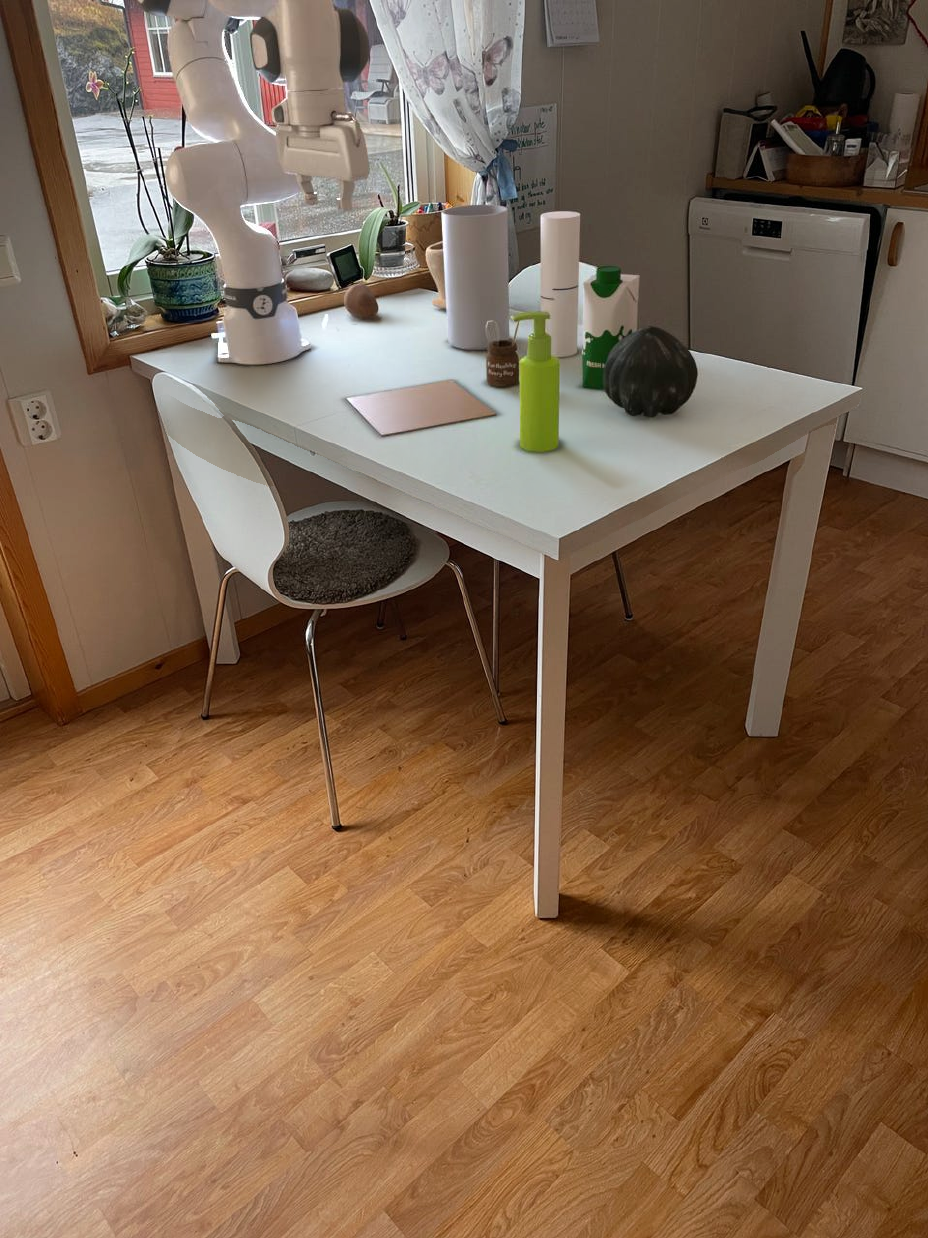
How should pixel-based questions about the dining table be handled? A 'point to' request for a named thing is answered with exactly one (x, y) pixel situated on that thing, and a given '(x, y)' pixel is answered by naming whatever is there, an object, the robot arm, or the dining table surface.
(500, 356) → the utensil holder
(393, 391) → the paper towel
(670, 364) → the squash
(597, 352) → the milk carton
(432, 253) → the stone cup
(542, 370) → the soap dispenser
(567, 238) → the cylindrical container
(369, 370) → the dining table surface
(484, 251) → the cylinder vase
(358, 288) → the potato
